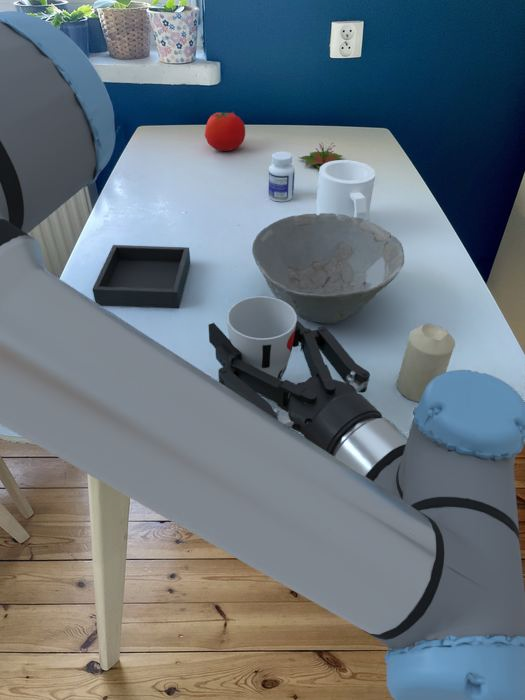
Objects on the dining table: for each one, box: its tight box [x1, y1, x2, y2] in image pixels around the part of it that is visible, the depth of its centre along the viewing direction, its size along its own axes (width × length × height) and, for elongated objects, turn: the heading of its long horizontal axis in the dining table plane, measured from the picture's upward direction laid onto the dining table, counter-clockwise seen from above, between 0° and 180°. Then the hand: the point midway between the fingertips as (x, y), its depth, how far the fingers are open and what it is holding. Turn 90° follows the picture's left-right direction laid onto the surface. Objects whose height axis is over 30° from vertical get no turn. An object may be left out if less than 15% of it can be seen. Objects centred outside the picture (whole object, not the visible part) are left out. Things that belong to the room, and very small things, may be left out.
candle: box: [396, 323, 456, 403], centre depth 69 cm, size 6×6×10 cm
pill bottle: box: [268, 151, 296, 203], centre depth 110 cm, size 5×5×9 cm
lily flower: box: [298, 142, 345, 170], centre depth 125 cm, size 12×12×5 cm
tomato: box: [204, 111, 246, 152], centre depth 129 cm, size 9×10×8 cm
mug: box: [314, 159, 376, 221], centre depth 100 cm, size 14×10×11 cm
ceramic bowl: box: [251, 213, 405, 325], centre depth 82 cm, size 22×23×10 cm
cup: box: [226, 295, 298, 380], centre depth 66 cm, size 8×8×10 cm
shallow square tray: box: [91, 244, 191, 309], centre depth 88 cm, size 13×13×3 cm
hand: (240, 321), depth 68 cm, fingers closed on cup, 8 cm apart
